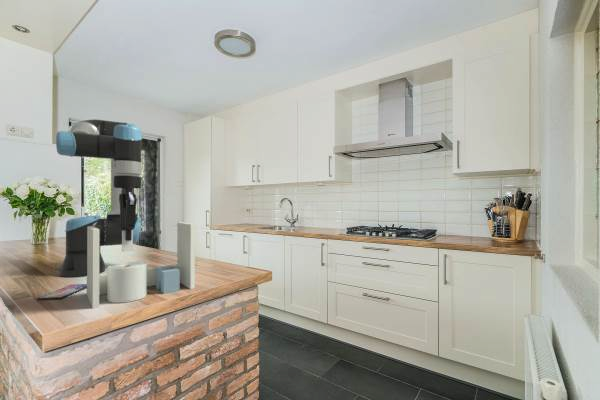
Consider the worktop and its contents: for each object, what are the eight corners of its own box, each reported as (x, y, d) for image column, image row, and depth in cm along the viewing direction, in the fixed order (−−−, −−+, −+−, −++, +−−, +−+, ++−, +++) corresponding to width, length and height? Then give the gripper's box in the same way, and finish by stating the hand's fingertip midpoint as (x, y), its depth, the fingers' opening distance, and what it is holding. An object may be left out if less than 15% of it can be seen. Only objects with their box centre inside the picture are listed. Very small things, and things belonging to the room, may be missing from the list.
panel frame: (86, 295, 94) (86, 226, 94) (180, 279, 113) (180, 221, 113) (92, 308, 83) (93, 229, 83) (194, 288, 102) (195, 224, 102)
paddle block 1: (156, 288, 103) (156, 267, 103) (171, 285, 106) (171, 265, 106) (158, 290, 100) (158, 269, 100) (173, 287, 104) (173, 267, 104)
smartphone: (35, 298, 90) (71, 284, 105) (35, 301, 90) (71, 287, 105) (61, 297, 90) (93, 283, 105) (61, 300, 90) (93, 286, 105)
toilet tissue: (106, 305, 85) (106, 270, 85) (107, 294, 96) (107, 263, 96) (148, 299, 91) (148, 266, 91) (144, 289, 101) (144, 259, 101)
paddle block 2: (160, 291, 98) (160, 270, 98) (176, 288, 102) (176, 268, 102) (163, 294, 96) (163, 272, 96) (179, 290, 99) (179, 270, 99)
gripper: (109, 175, 96) (109, 249, 96) (118, 173, 86) (117, 255, 86) (135, 177, 101) (135, 246, 101) (146, 175, 91) (146, 252, 91)
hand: (127, 250), depth 94 cm, fingers closed
